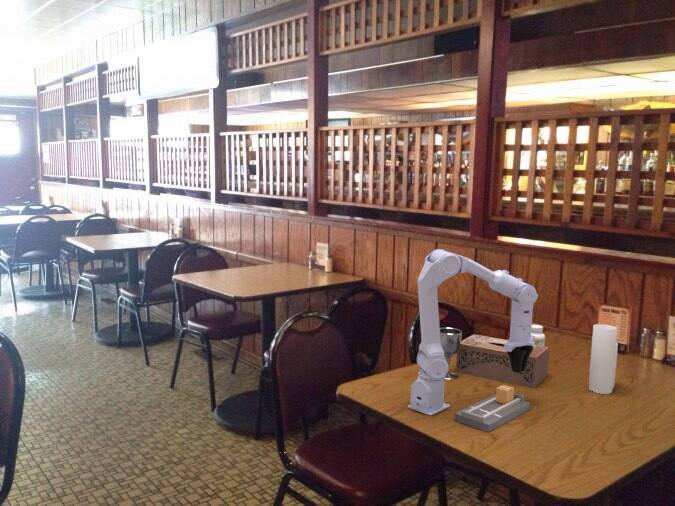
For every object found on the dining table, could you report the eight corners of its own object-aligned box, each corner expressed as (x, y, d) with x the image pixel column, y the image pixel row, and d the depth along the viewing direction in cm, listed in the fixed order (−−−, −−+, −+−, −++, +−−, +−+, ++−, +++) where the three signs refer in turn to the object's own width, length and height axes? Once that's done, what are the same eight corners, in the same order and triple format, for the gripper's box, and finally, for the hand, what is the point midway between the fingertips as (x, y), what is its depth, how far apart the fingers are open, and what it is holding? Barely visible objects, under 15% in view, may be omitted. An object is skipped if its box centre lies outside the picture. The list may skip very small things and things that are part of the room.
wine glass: (431, 377, 188) (433, 331, 186) (439, 370, 195) (441, 326, 193) (455, 381, 185) (457, 335, 183) (462, 374, 192) (464, 329, 190)
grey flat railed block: (487, 432, 147) (488, 420, 147) (454, 420, 154) (454, 408, 154) (529, 409, 163) (530, 397, 163) (497, 399, 170) (498, 388, 169)
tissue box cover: (547, 376, 192) (548, 347, 190) (534, 389, 180) (536, 357, 179) (472, 361, 206) (473, 334, 205) (455, 372, 194) (457, 343, 193)
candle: (611, 395, 174) (616, 330, 172) (585, 391, 178) (590, 327, 176) (615, 384, 184) (620, 323, 182) (590, 380, 188) (595, 319, 185)
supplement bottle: (519, 359, 209) (521, 324, 207) (533, 357, 211) (536, 323, 210) (533, 365, 203) (535, 329, 201) (547, 363, 205) (550, 327, 204)
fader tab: (506, 404, 160) (507, 390, 159) (495, 401, 162) (496, 387, 162) (513, 400, 163) (514, 387, 162) (503, 397, 165) (503, 384, 164)
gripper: (521, 331, 157) (518, 380, 159) (546, 323, 167) (543, 368, 169) (498, 326, 162) (495, 374, 163) (523, 318, 172) (520, 363, 174)
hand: (518, 371), depth 166 cm, fingers closed
